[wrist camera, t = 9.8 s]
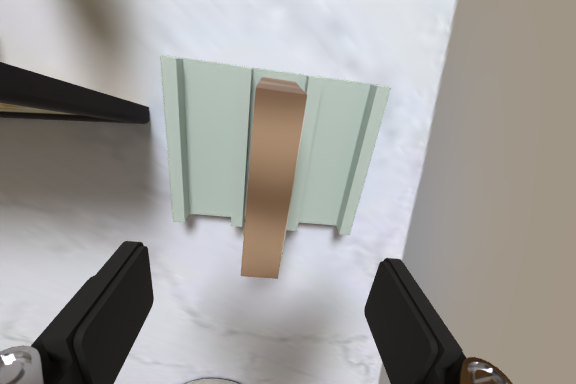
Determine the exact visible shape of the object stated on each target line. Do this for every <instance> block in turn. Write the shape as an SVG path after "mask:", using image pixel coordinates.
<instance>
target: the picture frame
mask: <svg viewBox="0 0 576 384" xmlns="http://www.w3.org/2000/svg"><path fill="white" fill-rule="evenodd" d="M0 117H3V118H26V119H48V120H71V121H93V122H116V123H138V124H145V123H148V122H149V107H146V106H143V105H140V104H137V103H133V102H130V101H127V100H123V99H120V98H117V97H114V96H110V95H107V94H104V93H100V92H97V91H94V90H90V89H87V88H84V87H81V86H77V85H74V84H71V83H67V82H64V81H61V80H58V79H54V78H51V77H48V76H44V75H41V74H38V73H34V72H31V71H28V70H25V69H21V68H18V67H15V66H11V65H8V64H5V63H2V62H0Z"/></svg>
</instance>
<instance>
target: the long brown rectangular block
mask: <svg viewBox="0 0 576 384" xmlns="http://www.w3.org/2000/svg"><path fill="white" fill-rule="evenodd" d="M306 100H307V94H306V93H305V92H304V91H303V90H302V89H301V88H300V86H299V85H298V84H297V83H296V82H294V81H287V80H280V79H273V78H266V77H262V78H261V79H260V81H259V83H258V84H257V86H256V90H255V103H254V116H253V128H252V141H251V153H250V166H249V179H248V191H247V204H246V216H245V229H244V242H243V254H242V267H241V276H246V277H262V278H277V279H278V273H279V267H280V260H281V254H282V253H283V247H284V240H285V234H286V228H287V222H288V216H289V210H290V204H291V198H292V191H293V185H294V179H295V173H296V167H297V161H298V155H299V149H300V143H301V136H302V130H303V124H304V118H305V115H304V112H305V106H306Z"/></svg>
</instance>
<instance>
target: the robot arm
mask: <svg viewBox="0 0 576 384" xmlns="http://www.w3.org/2000/svg"><path fill="white" fill-rule="evenodd" d="M152 305H153V289H152V280H151V272H150V263H149V254H148V248H147V247H146V246H143V243H142V242H131V241H125V242H123V243H122V245H121V246H120V247H119V248H118V249H117V250H116V252H115V253H114V254H113V255H112V256H111V257H110V259H109V260H108V261H107V262H106V263H105V265H104V266H103V267H102V268H101V269H100V270H99V272H98V273H97V274H96V275H95V276H93V277H91V278H90V279H89V280H87V282H86V283H85V284H84V285H83V286H82V287H81V289H80V290H79V291H78V292H77V293H76V294H75V295H74V297H73V298H72V299H71V300H70V301H69V302H68V304H67V305H66V306H65V307H64V308H63V309H62V310H61V312H60V313H59V314H58V315H57V316H56V317H55V319H54V320H53V321H52V322H51V323H50V324H49V326H48V327H47V328H46V329H45V330H44V331H43V332H42V334H41V335H40V336H39V337H38V338H37V339H36V341H35V342H34V343H33V344H32V345H31V346H18V347H12V348H9V349H6V350H3V351H0V384H114V382H115V380H116V378H117V376H118V374H119V372H120V370H121V368H122V366H123V364H124V362H125V360H126V358H127V356H128V354H129V352H130V350H131V348H132V346H133V344H134V342H135V340H136V338H137V336H138V334H139V332H140V330H141V328H142V326H143V324H144V322H145V320H146V318H147V316H148V314H149V312H150V310H151V307H152ZM365 317H366V319H367V322H368V325H369V327H370V330H371V333H372V335H373V338H374V340H375V343H376V346H377V348H378V351H379V354H380V356H381V359H382V362H383V364H384V367H385V369H386V372H387V375H388V377H389V380H390V383H391V384H512V382H511V381H510V380H509V379H508V377H507V376H506V375H505V374H504V373H503V372H502V371H501V370H499V369H498V368H497V367H495V366H494V365H492V364H491V363H489V362H487V361H485V360H483V359H480V358H476V357H469V358H466V357H465V355H464V354H463V352H462V349H461V347H460V346H459V344H458V343H457V341H456V340H455V339H454V337H453V336H452V334H451V333H450V331H449V330H448V328H447V327H446V325H445V324H444V322H443V321H442V319H441V318H440V316H439V315H438V314H437V312H436V311H435V309H434V308H433V306H432V305H431V303H430V302H429V300H428V299H427V297H426V296H425V294H424V293H423V291H422V290H421V289H420V287H419V286H418V284H417V283H416V281H415V280H414V278H413V277H412V275H411V274H410V273H409V271H408V269H407V268H406V266H405V265H404V263H403V262H402V261H401V260H400V259H391V258H386V259H385V260H384V261H382V262H380V264H379V267H378V270H377V273H376V276H375V279H374V282H373V285H372V288H371V291H370V294H369V297H368V299H367V302H366V305H365ZM186 384H238V383H236V382H233V381H229V380H224V379H213V378H210V379H200V380H194V381H191V382H188V383H186Z"/></svg>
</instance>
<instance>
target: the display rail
mask: <svg viewBox="0 0 576 384" xmlns="http://www.w3.org/2000/svg"><path fill="white" fill-rule="evenodd" d="M160 60H161V73H162V86H163V98H164V111H165V124H166V137H167V150H168V163H169V176H170V189H171V202H172V214H173V222H183V223H185V221H186V219H187V218H188V216H189V214H199V215H212V216H225V217H231V226H236V227H242V225H243V219H244V218H245V216H246V204H247V191H248V179H249V166H250V153H251V141H252V128H253V116H254V103H255V90H256V86H257V84H258V83H259V81H260V79H261V78H262V77H266V78H273V79H280V80H287V81H294V82H296V83H297V84H298V85H299V86H300V88H301V89H302V90H303V91H304V92H305V93H306V94H307V100H306V106H305V112H304V115H305V118H304V124H303V130H302V136H301V143H300V149H299V155H298V161H297V167H296V173H295V179H294V185H293V191H292V198H291V204H290V210H289V216H288V222H287V228H286V230H288V231H297V228H298V222H300V223H313V224H325V225H336V227H337V230H338V232H339V234H341V235H350V232H351V228H352V225H353V221H354V218H355V214H356V211H357V207H358V203H359V200H360V196H361V193H362V189H363V186H364V182H365V178H366V175H367V171H368V168H369V164H370V161H371V157H372V153H373V150H374V146H375V143H376V139H377V136H378V132H379V128H380V125H381V121H382V118H383V114H384V111H385V107H386V103H387V100H388V96H389V93H390V89H391V88H389V87H388V86H384V85H376V84H369V83H362V82H354V81H347V80H340V79H333V78H325V77H318V76H311V75H304V74H296V73H289V72H282V71H274V70H267V69H260V68H253V67H245V66H238V65H231V64H223V63H216V62H209V61H202V60H194V59H187V58H180V57H172V56H161V57H160Z"/></svg>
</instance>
